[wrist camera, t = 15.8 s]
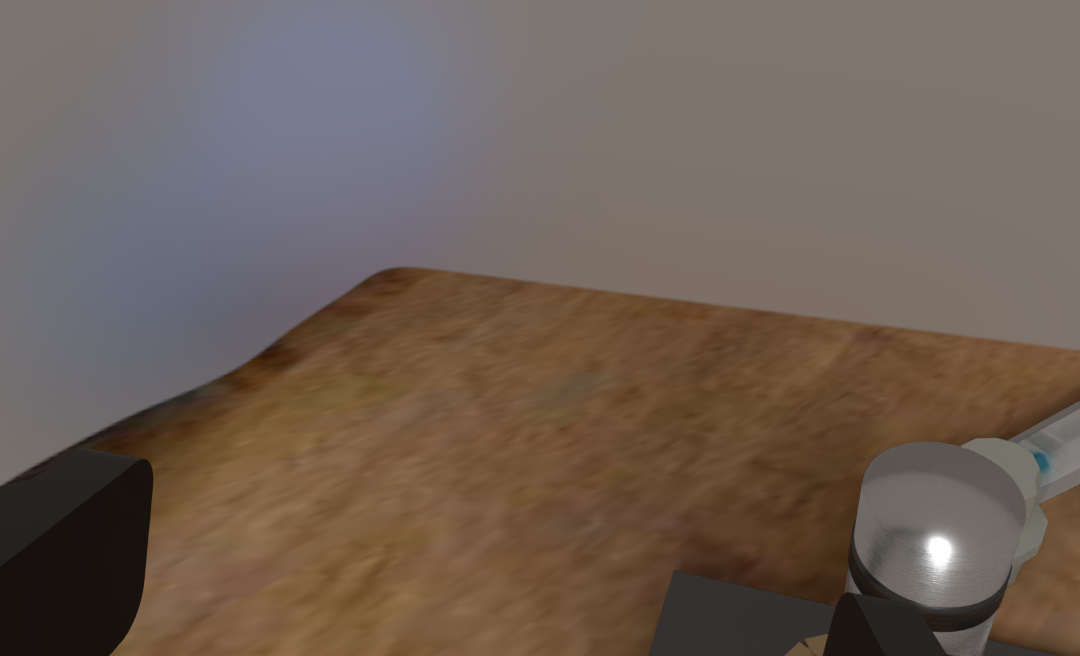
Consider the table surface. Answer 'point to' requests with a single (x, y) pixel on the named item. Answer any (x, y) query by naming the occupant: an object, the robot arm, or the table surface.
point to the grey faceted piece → (1037, 470)
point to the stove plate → (751, 622)
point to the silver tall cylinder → (938, 538)
